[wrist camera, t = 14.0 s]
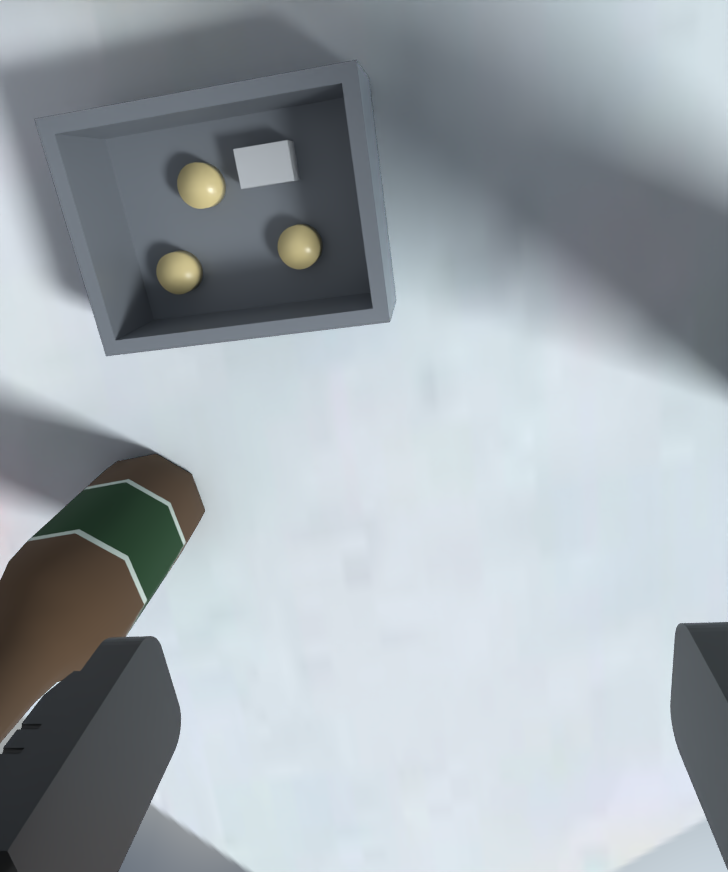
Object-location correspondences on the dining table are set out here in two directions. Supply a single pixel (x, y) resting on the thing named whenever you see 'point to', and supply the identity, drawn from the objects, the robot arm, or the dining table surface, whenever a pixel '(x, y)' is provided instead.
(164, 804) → the dining table surface
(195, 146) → the tub
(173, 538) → the beer bottle
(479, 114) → the dining table surface
